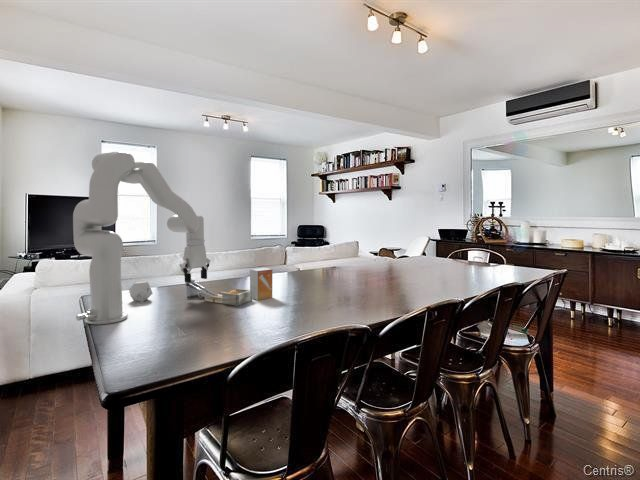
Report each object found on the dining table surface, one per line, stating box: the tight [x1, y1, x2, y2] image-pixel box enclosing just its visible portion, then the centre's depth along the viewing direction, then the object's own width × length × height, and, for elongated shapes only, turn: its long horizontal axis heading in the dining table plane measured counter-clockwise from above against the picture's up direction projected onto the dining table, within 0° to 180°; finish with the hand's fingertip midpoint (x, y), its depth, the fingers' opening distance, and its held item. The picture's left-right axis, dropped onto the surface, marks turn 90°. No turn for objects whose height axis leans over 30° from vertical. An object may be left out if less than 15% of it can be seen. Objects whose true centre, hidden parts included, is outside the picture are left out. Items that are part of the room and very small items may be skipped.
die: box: [128, 281, 153, 303], centre depth 154 cm, size 8×9×10 cm
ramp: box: [184, 279, 217, 299], centre depth 161 cm, size 5×15×7 cm, turn 64°
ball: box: [228, 289, 238, 294], centre depth 153 cm, size 4×4×4 cm
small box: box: [249, 267, 273, 301], centre depth 160 cm, size 8×6×13 cm
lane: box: [204, 288, 253, 307], centre depth 155 cm, size 10×18×4 cm, turn 64°
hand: (196, 280), depth 163 cm, fingers open, 9 cm apart
